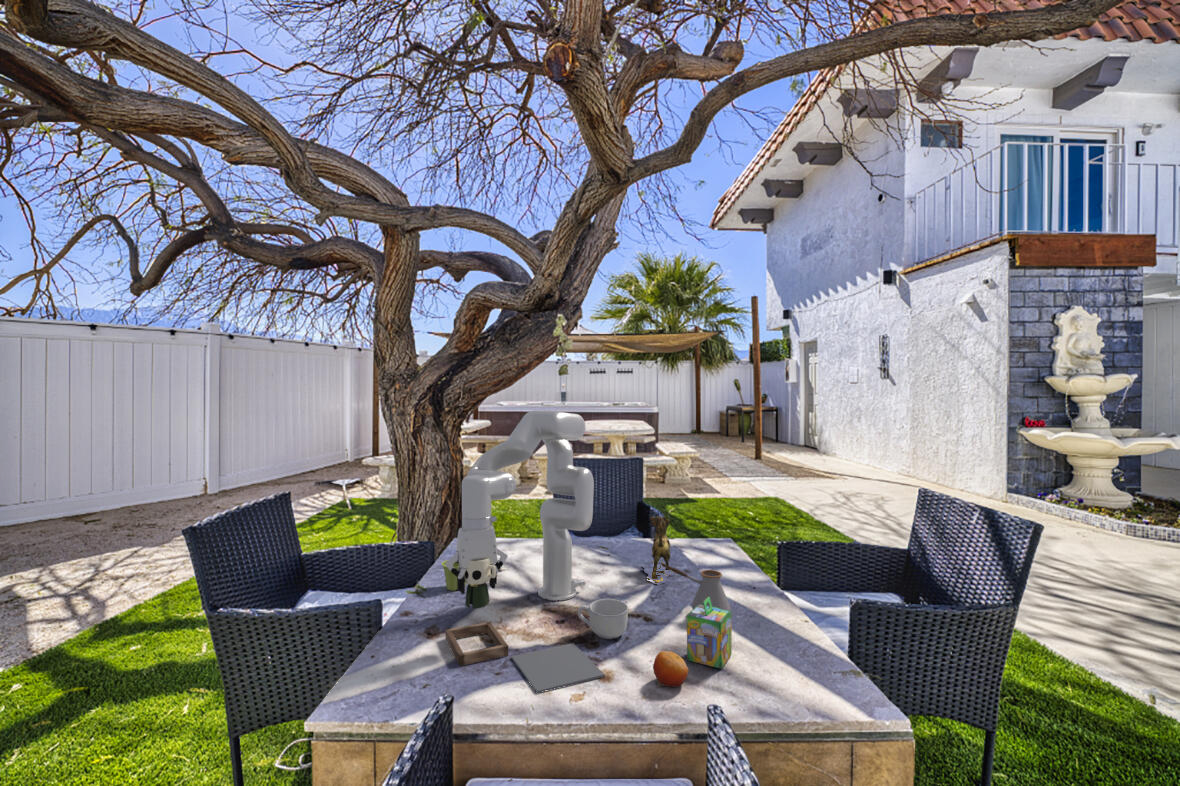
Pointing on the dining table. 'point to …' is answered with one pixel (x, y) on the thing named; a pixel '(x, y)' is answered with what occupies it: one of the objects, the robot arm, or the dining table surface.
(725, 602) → the coffee pot
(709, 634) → the chalk box
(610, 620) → the teacup
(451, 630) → the collar
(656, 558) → the figurine
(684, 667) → the fruit
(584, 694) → the dining table surface
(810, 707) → the dining table surface
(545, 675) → the rubber mat
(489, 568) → the character mug
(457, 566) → the plant pot
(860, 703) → the dining table surface
